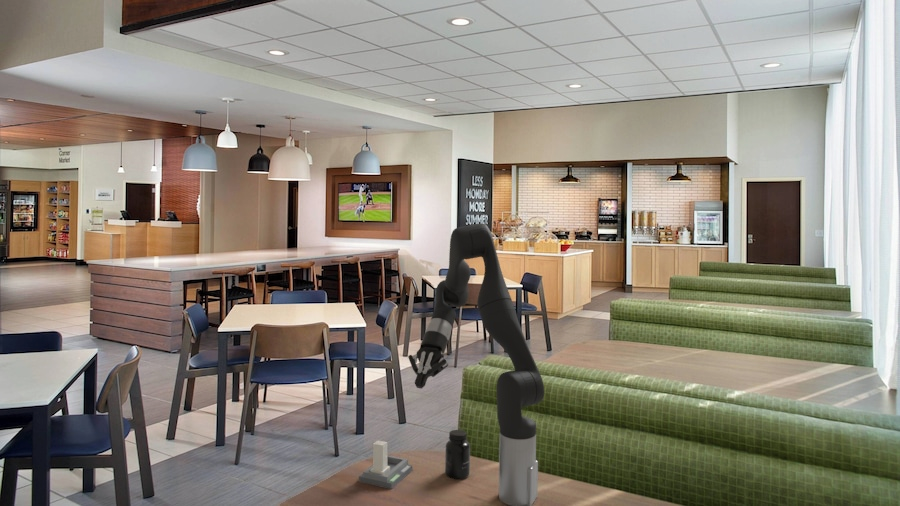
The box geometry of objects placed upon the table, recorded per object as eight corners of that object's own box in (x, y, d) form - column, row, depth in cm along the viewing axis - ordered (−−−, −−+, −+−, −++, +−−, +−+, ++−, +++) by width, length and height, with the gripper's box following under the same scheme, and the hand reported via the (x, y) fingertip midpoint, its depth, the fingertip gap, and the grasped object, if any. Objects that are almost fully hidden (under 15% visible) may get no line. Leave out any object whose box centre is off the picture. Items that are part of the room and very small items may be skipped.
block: (390, 472, 166) (390, 441, 165) (382, 478, 162) (382, 446, 161) (378, 470, 167) (377, 439, 167) (370, 476, 164) (370, 444, 163)
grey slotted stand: (412, 470, 171) (412, 460, 171) (391, 489, 160) (391, 478, 160) (381, 464, 175) (381, 454, 175) (358, 481, 164) (358, 471, 164)
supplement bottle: (470, 480, 166) (470, 437, 164) (444, 480, 166) (445, 437, 165) (469, 469, 172) (470, 428, 171) (445, 468, 173) (445, 427, 171)
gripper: (413, 327, 186) (394, 377, 176) (453, 331, 181) (435, 383, 171) (421, 341, 192) (402, 390, 181) (459, 345, 186) (443, 396, 176)
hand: (418, 387), depth 176 cm, fingers closed
